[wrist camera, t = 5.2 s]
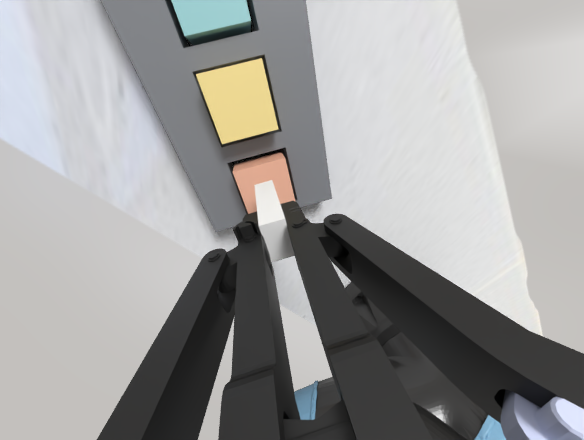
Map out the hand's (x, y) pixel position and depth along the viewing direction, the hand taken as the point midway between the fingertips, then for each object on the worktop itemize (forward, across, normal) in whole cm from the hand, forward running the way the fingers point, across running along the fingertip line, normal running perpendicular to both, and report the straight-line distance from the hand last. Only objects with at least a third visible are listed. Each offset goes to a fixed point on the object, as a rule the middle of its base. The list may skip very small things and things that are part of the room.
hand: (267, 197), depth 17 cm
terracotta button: (+6, 0, +1) cm, 6 cm away
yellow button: (+6, 0, -7) cm, 9 cm away
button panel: (+8, 0, -7) cm, 11 cm away
